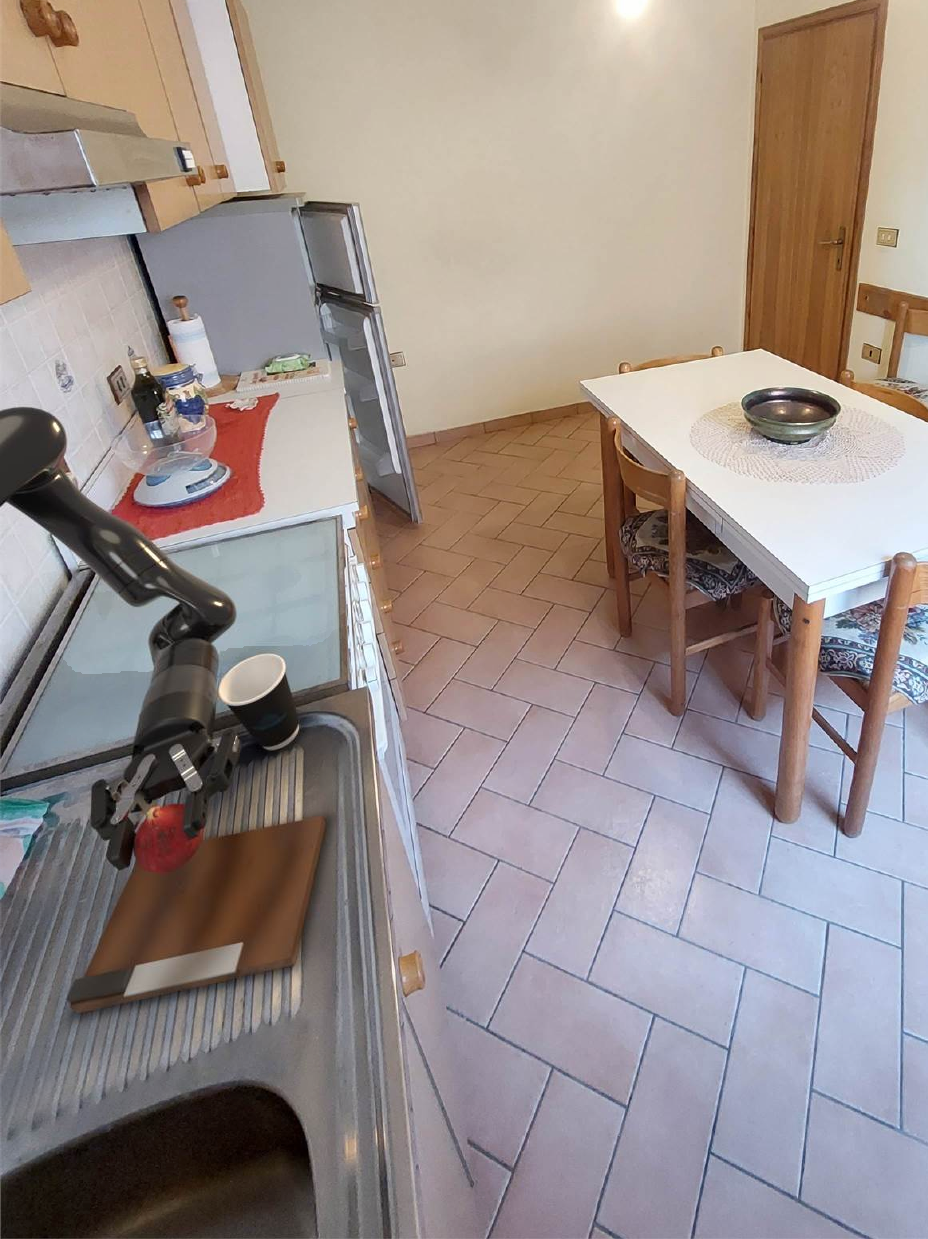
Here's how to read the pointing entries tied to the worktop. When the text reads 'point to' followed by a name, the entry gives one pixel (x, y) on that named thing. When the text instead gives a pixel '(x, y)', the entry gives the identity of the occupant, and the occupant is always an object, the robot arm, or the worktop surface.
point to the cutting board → (206, 917)
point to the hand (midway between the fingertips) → (155, 848)
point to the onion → (164, 840)
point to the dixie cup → (261, 700)
